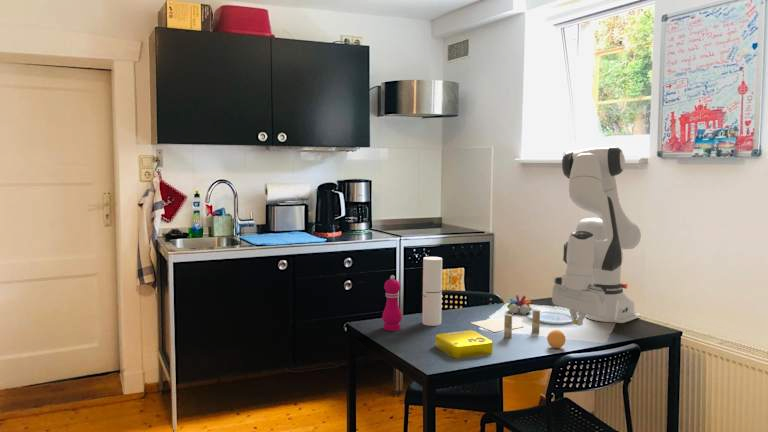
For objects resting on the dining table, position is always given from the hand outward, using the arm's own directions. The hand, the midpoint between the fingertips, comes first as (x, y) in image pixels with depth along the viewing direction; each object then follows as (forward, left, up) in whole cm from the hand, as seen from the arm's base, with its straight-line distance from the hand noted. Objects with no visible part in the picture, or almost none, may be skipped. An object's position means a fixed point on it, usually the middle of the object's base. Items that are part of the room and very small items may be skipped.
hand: (577, 324), depth 215 cm
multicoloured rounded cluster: (-21, -51, -11) cm, 56 cm away
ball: (-1, -9, -8) cm, 12 cm away
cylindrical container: (+19, -54, -11) cm, 59 cm away
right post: (-7, -26, -11) cm, 29 cm away
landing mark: (-1, -40, -11) cm, 42 cm away
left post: (+6, -26, -11) cm, 29 cm away
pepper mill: (+36, -55, -11) cm, 67 cm away
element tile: (+28, -23, -11) cm, 38 cm away
